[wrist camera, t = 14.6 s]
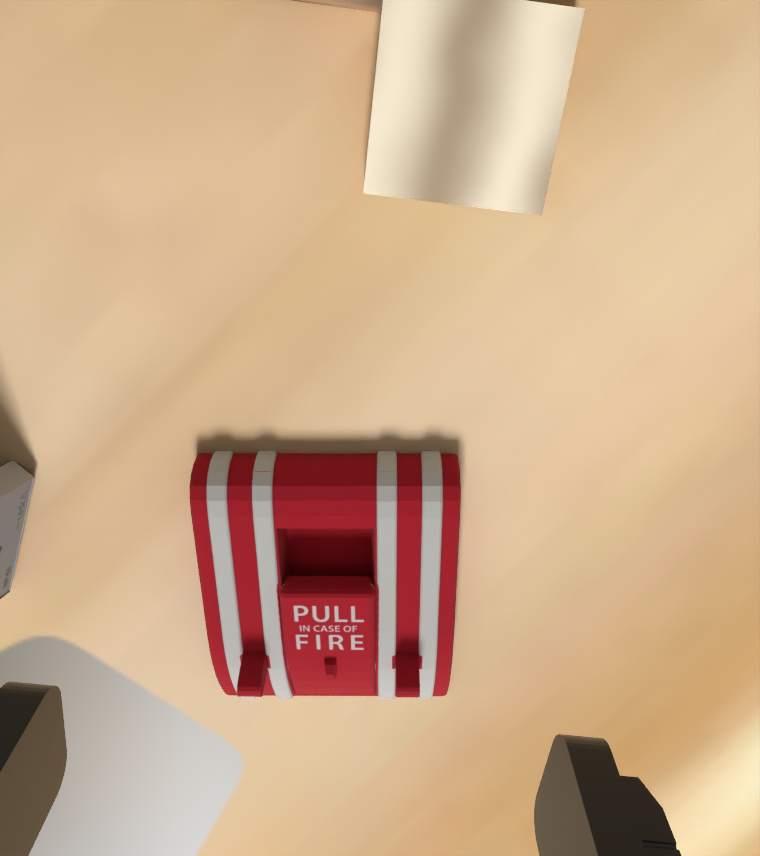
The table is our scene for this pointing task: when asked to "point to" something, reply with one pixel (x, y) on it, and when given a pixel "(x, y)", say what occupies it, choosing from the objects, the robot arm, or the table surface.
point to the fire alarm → (328, 571)
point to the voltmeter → (12, 518)
